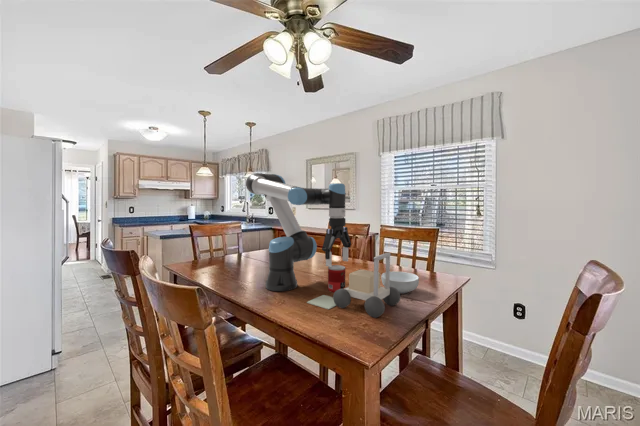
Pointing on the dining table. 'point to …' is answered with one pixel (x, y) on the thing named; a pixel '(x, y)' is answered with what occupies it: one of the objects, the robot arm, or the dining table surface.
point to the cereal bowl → (402, 281)
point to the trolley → (369, 289)
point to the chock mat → (323, 302)
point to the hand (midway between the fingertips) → (337, 263)
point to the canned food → (336, 278)
